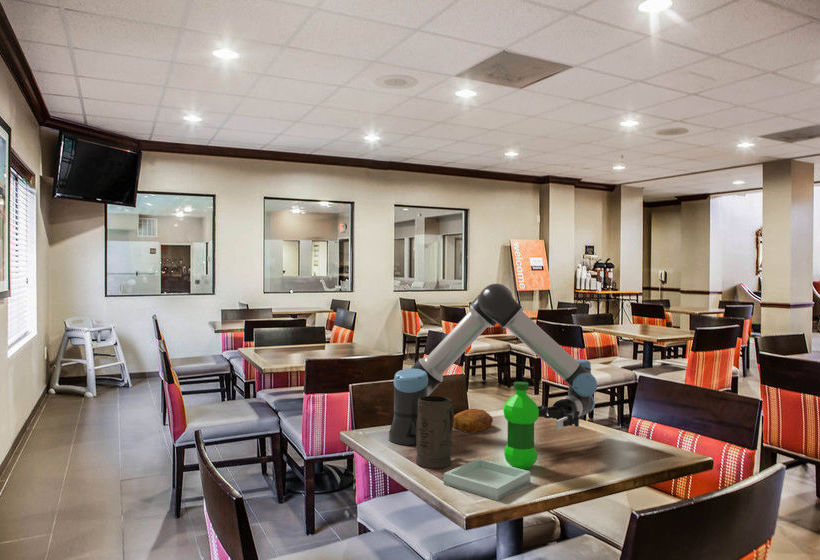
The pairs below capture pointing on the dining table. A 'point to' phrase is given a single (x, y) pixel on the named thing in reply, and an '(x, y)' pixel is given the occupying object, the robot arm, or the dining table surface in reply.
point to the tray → (487, 478)
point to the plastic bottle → (520, 428)
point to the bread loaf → (472, 420)
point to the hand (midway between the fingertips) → (536, 421)
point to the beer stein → (434, 431)
